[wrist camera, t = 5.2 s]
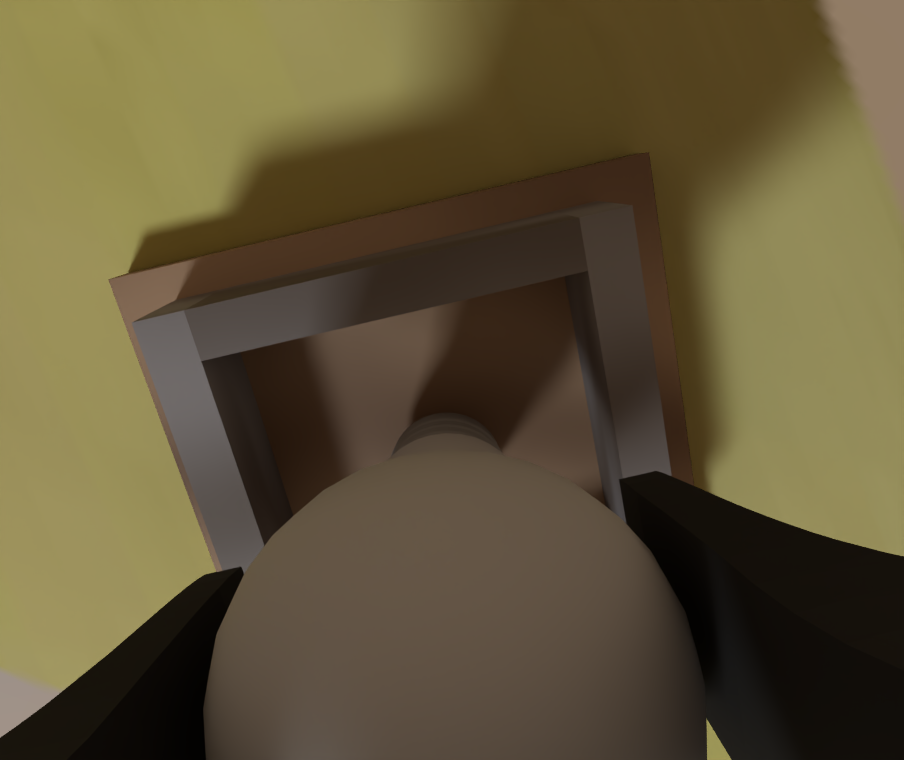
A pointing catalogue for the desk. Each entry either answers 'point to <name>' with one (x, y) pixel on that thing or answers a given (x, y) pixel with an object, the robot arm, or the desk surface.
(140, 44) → the desk surface
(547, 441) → the socket base
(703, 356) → the desk surface
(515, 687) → the lightbulb
